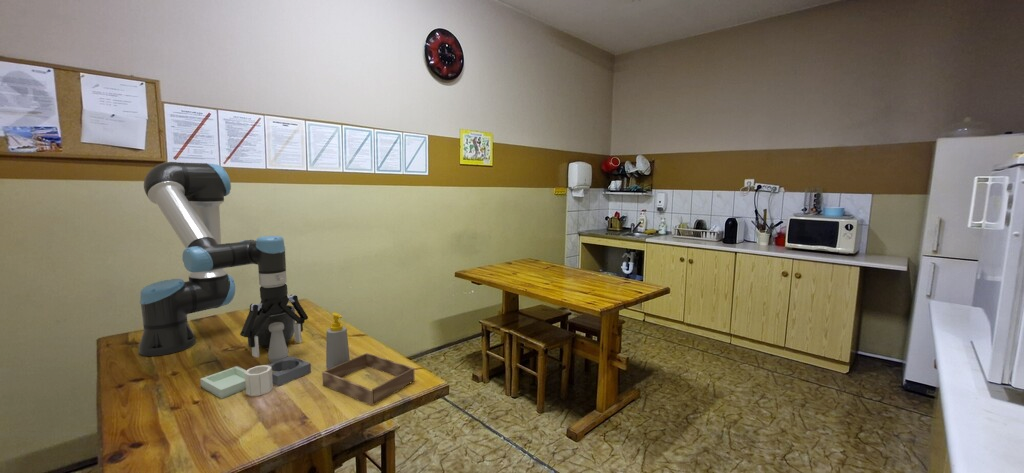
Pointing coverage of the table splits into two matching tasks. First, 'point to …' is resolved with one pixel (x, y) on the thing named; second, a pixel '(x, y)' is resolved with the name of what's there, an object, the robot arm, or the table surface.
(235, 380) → the mint green tray
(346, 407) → the table surface
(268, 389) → the octagonal gray cup
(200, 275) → the robot arm
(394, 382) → the book tray
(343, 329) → the soap bottle
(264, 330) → the planter
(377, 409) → the table surface
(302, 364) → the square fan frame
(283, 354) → the salt shaker
